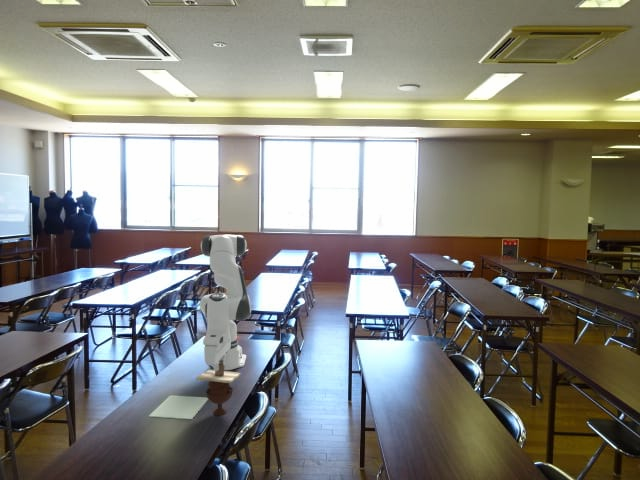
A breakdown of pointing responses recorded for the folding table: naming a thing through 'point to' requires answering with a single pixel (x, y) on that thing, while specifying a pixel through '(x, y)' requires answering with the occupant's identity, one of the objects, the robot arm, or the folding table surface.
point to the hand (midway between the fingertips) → (219, 367)
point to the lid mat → (179, 407)
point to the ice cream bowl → (219, 395)
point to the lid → (219, 375)
